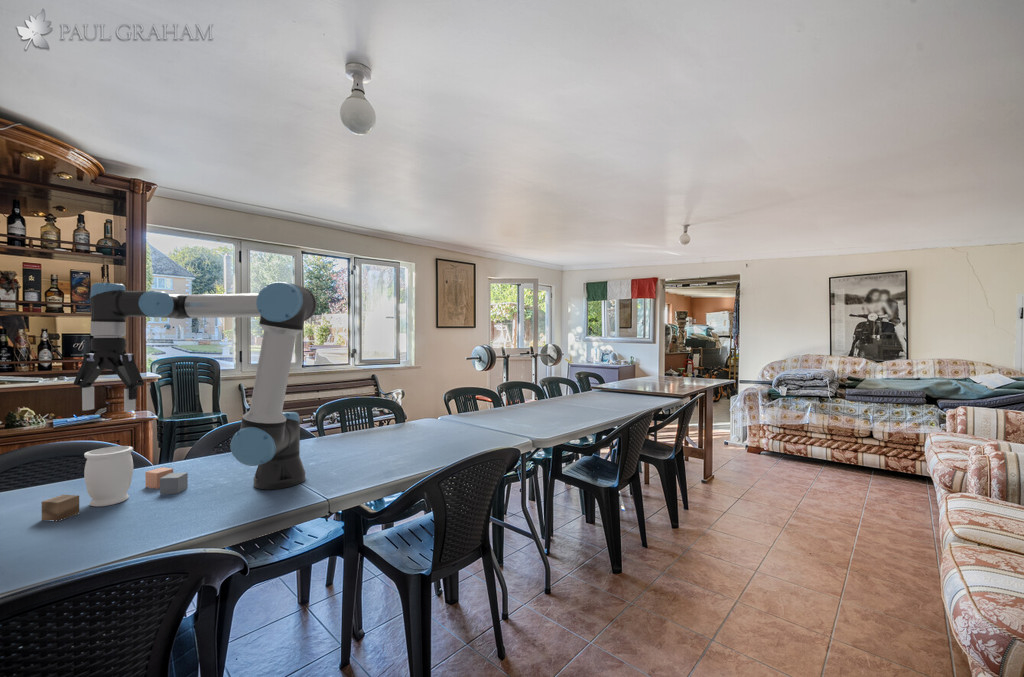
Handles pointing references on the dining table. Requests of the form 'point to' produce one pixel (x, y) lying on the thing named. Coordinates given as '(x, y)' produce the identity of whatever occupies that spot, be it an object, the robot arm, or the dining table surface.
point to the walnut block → (60, 507)
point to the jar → (108, 474)
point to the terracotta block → (156, 476)
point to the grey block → (173, 483)
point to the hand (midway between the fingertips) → (109, 410)
